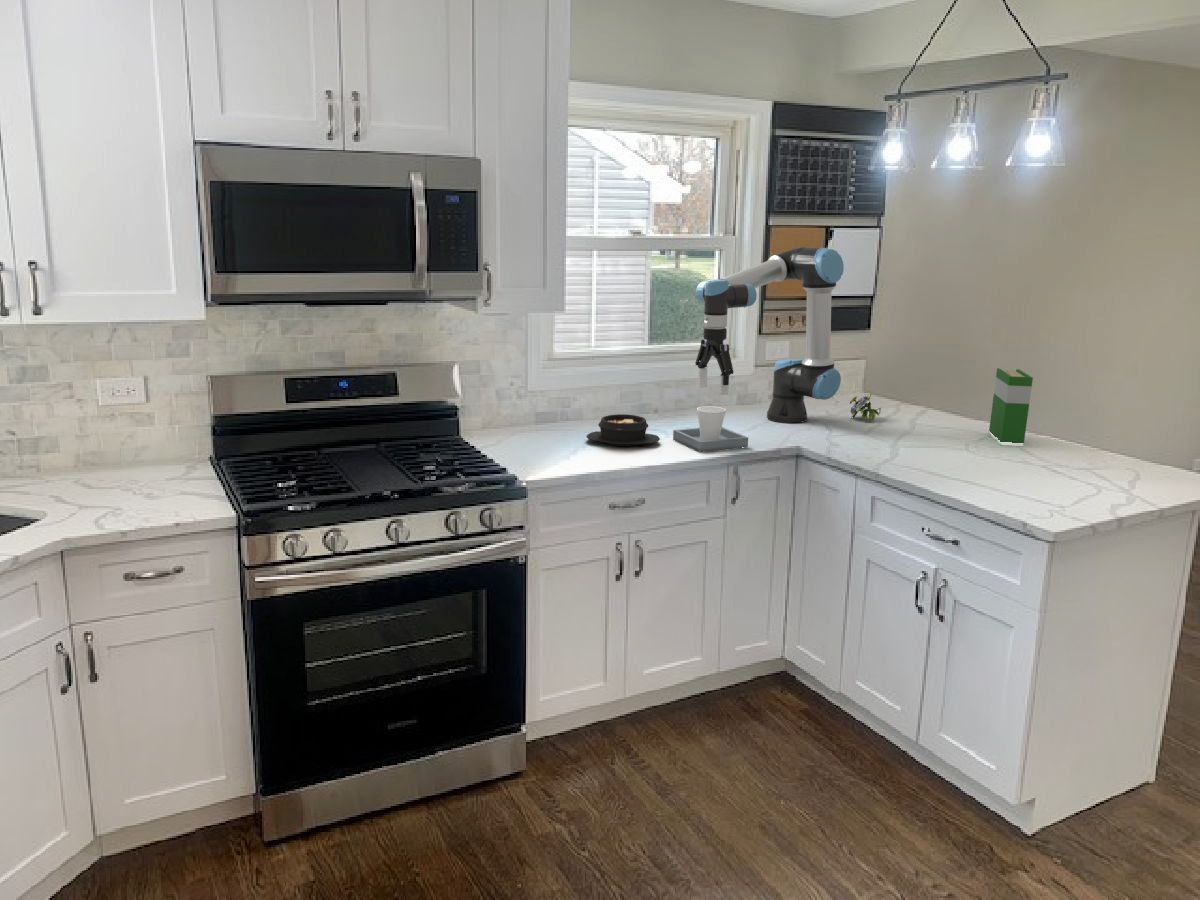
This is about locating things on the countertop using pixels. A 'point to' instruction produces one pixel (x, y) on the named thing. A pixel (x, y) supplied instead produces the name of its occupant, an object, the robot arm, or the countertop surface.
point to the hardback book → (1010, 405)
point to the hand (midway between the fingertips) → (713, 391)
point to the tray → (724, 442)
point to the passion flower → (861, 406)
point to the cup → (710, 422)
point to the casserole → (623, 431)
